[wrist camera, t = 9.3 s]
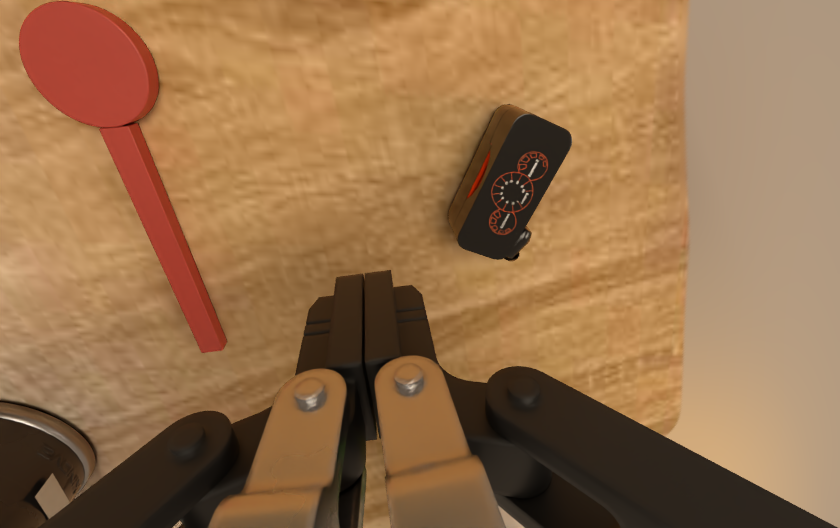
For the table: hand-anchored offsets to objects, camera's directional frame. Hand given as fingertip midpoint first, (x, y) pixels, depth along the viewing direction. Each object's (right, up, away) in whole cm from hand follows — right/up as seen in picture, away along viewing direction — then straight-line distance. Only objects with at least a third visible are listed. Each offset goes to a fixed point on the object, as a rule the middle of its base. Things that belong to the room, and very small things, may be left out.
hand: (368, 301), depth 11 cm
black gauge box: (+5, +5, +9) cm, 12 cm away
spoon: (-11, +5, +7) cm, 14 cm away
